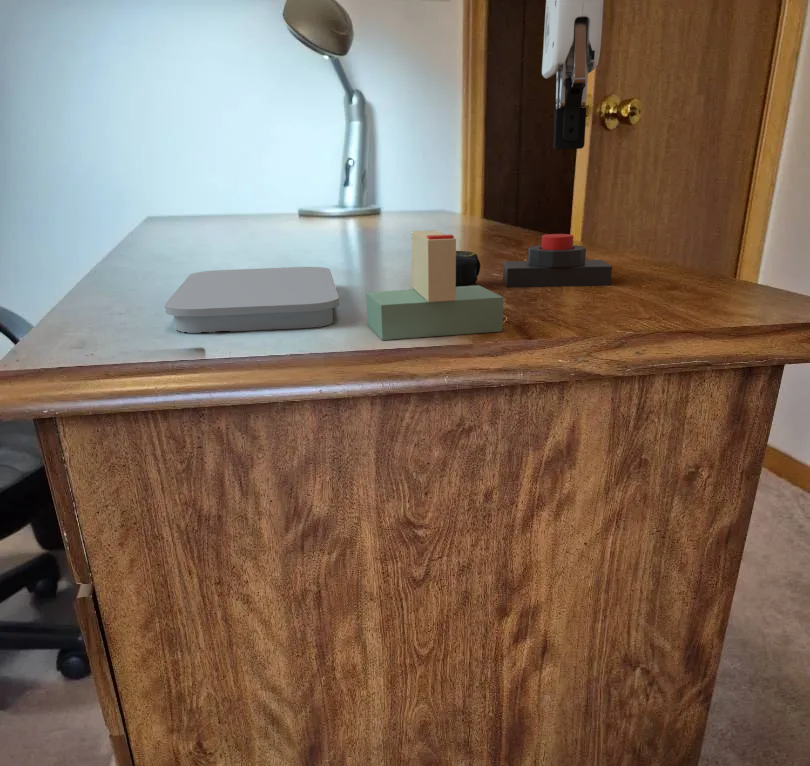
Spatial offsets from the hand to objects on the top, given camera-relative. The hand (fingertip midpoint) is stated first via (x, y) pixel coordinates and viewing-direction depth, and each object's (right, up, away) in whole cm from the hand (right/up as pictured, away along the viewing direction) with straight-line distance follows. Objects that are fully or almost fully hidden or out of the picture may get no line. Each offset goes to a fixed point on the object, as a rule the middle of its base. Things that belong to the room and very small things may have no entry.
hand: (568, 148), depth 88 cm
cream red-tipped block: (-16, -21, -17) cm, 31 cm away
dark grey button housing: (0, -13, +7) cm, 14 cm away
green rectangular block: (-16, -24, -15) cm, 33 cm away
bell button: (0, -10, +5) cm, 11 cm away
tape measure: (-13, -14, +5) cm, 20 cm away
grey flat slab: (-34, -19, -3) cm, 39 cm away
